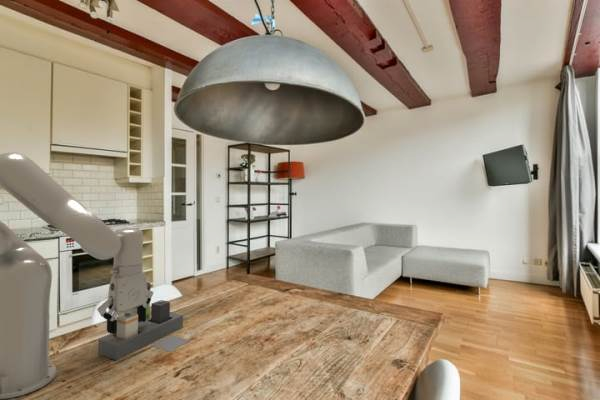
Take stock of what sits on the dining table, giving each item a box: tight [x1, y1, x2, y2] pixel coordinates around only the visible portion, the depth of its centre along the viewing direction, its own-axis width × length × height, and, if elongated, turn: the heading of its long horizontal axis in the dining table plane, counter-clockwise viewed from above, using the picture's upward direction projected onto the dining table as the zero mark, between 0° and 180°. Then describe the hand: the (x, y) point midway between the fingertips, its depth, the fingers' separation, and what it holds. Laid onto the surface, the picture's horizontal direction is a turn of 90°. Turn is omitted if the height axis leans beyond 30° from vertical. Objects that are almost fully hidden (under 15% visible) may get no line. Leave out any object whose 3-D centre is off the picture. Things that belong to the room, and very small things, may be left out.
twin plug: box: [150, 299, 171, 324], centre depth 102 cm, size 4×4×9 cm
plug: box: [115, 312, 138, 340], centre depth 91 cm, size 4×4×9 cm
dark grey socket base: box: [97, 311, 184, 361], centre depth 96 cm, size 24×8×4 cm, turn 156°
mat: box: [151, 334, 191, 353], centre depth 94 cm, size 8×8×1 cm
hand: (127, 326), depth 91 cm, fingers open, 9 cm apart
